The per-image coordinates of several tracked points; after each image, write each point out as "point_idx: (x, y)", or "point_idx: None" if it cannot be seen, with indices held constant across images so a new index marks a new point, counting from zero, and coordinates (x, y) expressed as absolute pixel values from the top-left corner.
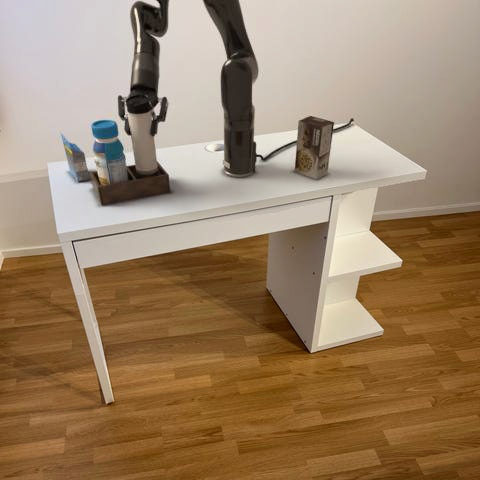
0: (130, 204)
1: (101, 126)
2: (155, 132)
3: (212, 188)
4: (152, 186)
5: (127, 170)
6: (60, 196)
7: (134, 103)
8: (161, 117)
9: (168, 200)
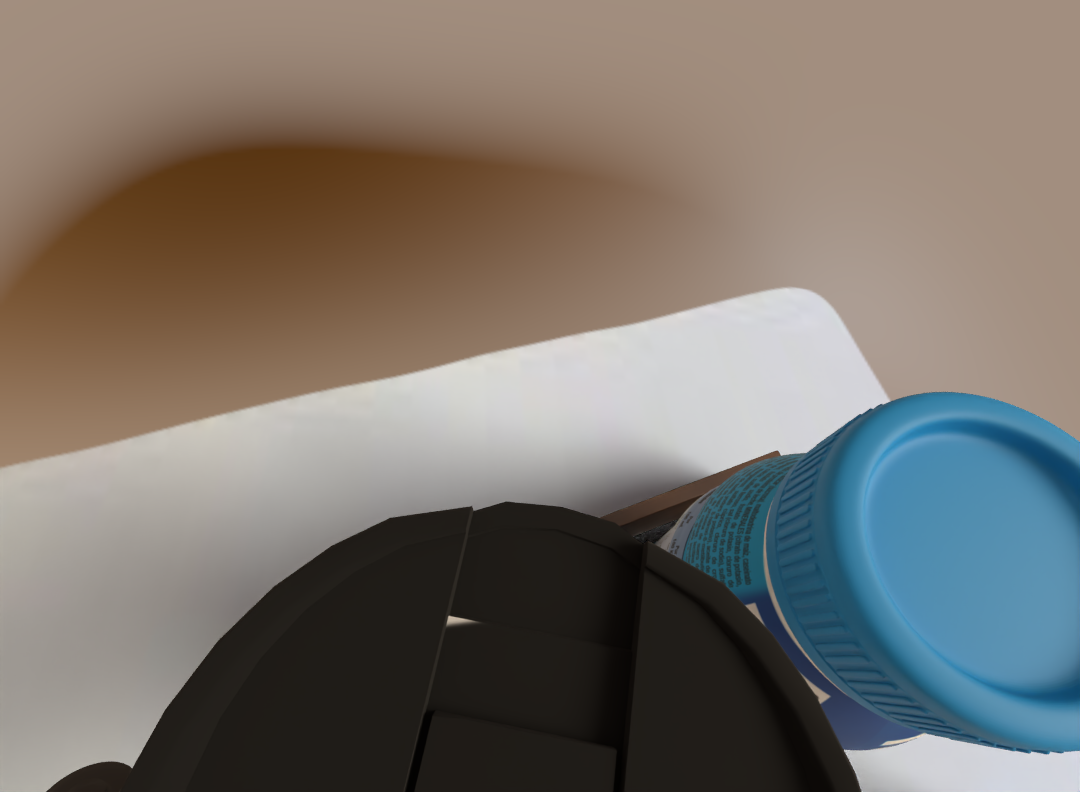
0: (596, 487)
1: (1004, 514)
2: None
3: (112, 669)
4: None
5: None
6: None
7: (588, 705)
8: (108, 764)
9: None
